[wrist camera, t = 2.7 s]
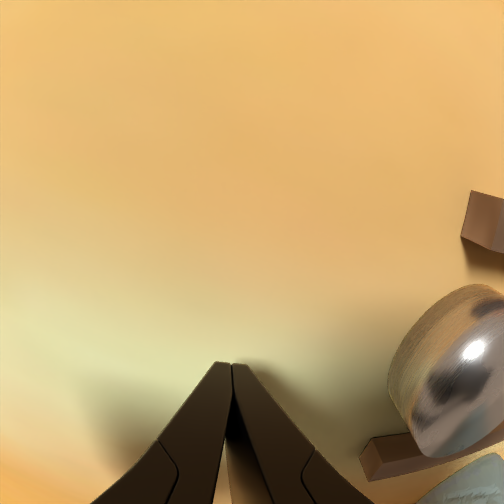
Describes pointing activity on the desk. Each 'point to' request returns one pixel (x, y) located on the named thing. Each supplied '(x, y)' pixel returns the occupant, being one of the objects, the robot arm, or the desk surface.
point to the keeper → (452, 371)
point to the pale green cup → (471, 484)
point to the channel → (403, 445)
